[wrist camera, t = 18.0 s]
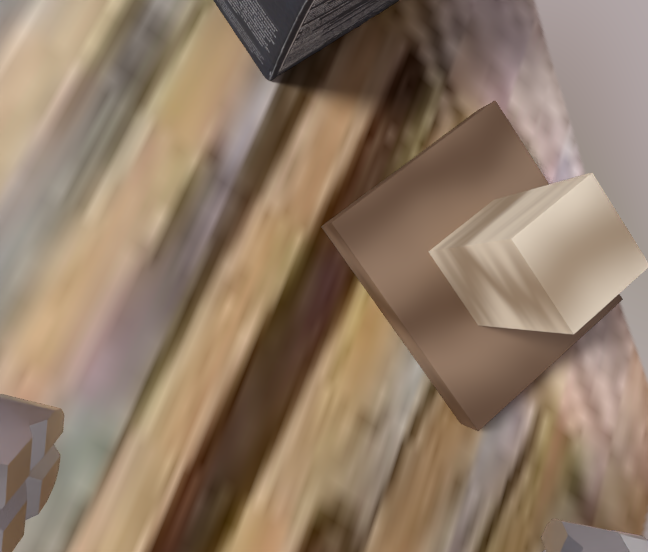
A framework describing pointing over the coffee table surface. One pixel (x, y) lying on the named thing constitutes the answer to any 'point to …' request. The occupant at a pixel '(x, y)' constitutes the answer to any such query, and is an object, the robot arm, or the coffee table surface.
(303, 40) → the small box
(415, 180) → the walnut board
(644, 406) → the coffee table surface
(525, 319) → the birch block
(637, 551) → the robot arm
